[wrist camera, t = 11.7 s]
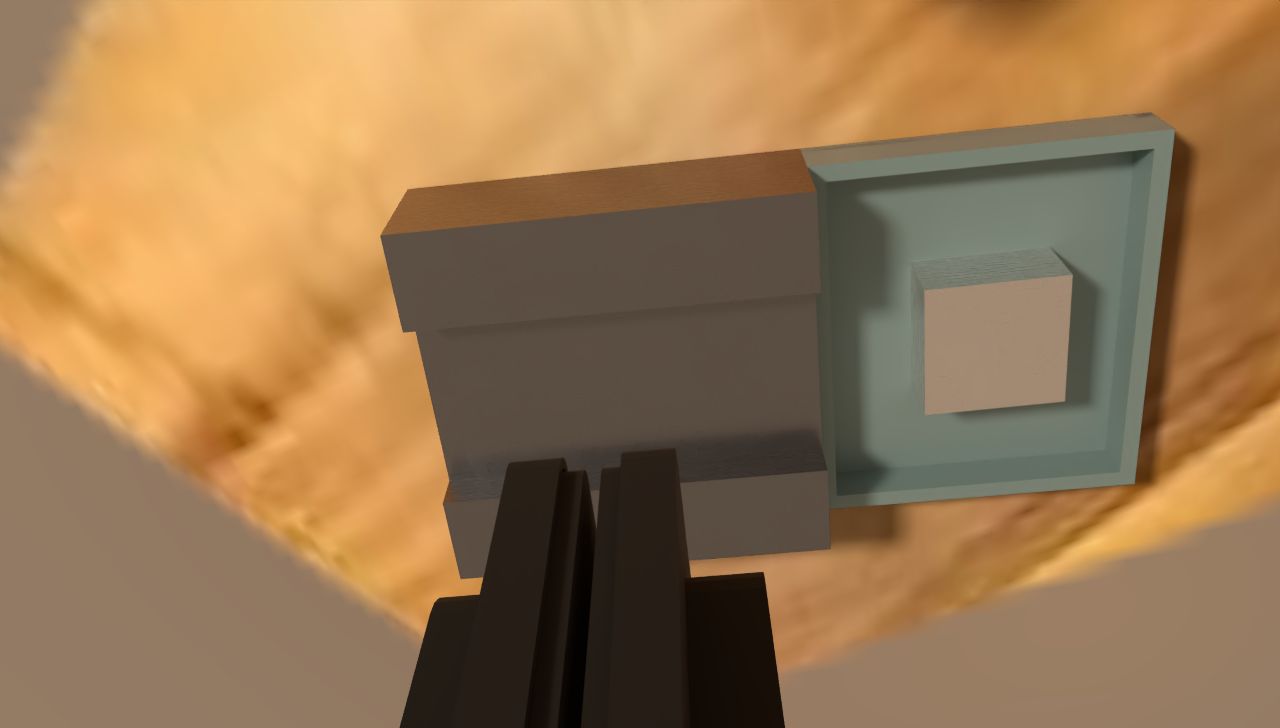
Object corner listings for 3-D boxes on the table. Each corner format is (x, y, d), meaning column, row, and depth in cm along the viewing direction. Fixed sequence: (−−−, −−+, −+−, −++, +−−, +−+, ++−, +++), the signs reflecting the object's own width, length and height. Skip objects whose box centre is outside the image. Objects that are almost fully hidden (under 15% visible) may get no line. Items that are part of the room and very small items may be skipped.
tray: (1151, 112, 38) (1175, 128, 37) (1115, 456, 45) (1134, 483, 43) (800, 148, 39) (807, 166, 37) (815, 481, 46) (821, 509, 44)
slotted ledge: (800, 148, 39) (816, 191, 35) (815, 481, 46) (830, 548, 42) (407, 189, 40) (380, 235, 36) (477, 510, 46) (460, 578, 42)
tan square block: (924, 290, 38) (910, 262, 41) (925, 415, 41) (911, 382, 43) (1072, 274, 38) (1050, 247, 40) (1064, 401, 40) (1043, 368, 43)
